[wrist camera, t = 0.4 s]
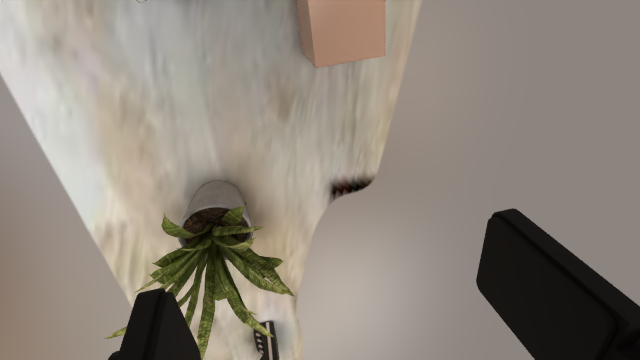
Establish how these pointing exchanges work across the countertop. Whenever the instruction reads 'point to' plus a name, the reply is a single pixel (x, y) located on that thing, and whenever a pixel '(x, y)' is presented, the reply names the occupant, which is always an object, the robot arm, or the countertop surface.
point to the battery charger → (267, 342)
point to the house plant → (215, 257)
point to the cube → (341, 30)
